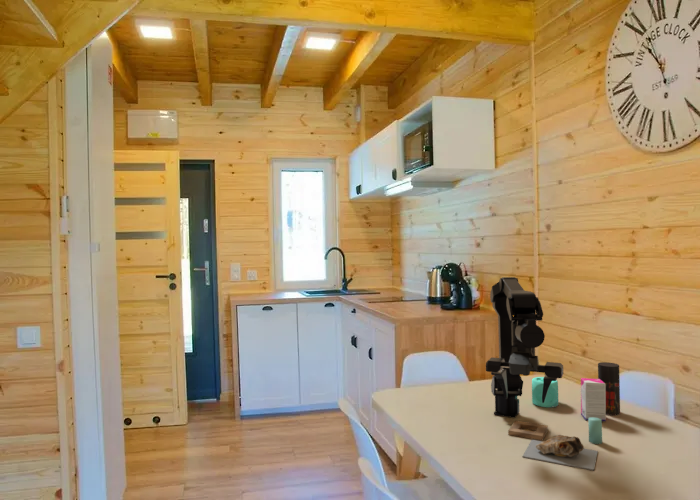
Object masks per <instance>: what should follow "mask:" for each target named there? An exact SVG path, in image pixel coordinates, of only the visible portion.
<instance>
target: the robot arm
mask: <svg viewBox="0 0 700 500" xmlns="http://www.w3.org/2000/svg"><path fill="white" fill-rule="evenodd" d="M489 295H490V297H489V298H490V299H489V300H490V302H491V303H492V308H493V311H495V313H496V316H497V323H498V324H497V325H498V327H497V328H498V357H493V356H492V357H490V358H489V359H488V360H487V361H486V362H485V372H486V373H487V372H489V373H490V375H491V376H492V379H491V384H490V389H491V394H492V396H494V412H493V415H494V416H501V417H508V418H516V417H517V416H518V414H520V399H519V398H518V397H522V395H523V386H524V380H522V376H525V377H527V376H529V375H530V374H531V373H543V374H544V376H543V377H544V383H543V393H542V403H544V401H545V398H546V395H547V392H548V389H549V386H550V384H551V382H552V381H556V380H557V379H562V378H563V376H564V365H563V364H562V363H561V362H553V361H551V362H550V361H546V363H545V364H540V363H539V362H540V361H539V356H538V355H536V348H538V347H540V346H542V344H543V343H544V341H545V337H546V335H545V332H544V330H543V328H541V327H540V326H539V325H537V321H543V317H544V311H543V308H542V304H541V301H540V300H539V297H538V296H537V294H536V293H534V291H530V290H525V289H524V288H523V286H522V285H521V284H520V282H519V279H518V277H513V276H509V277H507V276H505V277H504V276H503V277H499V280H498V282H497V283H495V284H493V285H492V286H491V289H490V294H489ZM520 375H522V376H520ZM557 381H558V380H557Z"/></svg>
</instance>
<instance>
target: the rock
mask: <svg viewBox="0 0 700 500" xmlns="http://www.w3.org/2000/svg"><path fill="white" fill-rule="evenodd" d="M542 441H543V442H541V443H540V444H538V445H536V448H537V449H538V450H540V451H541V452H542V453H543V454H549V453H554V454H563V455H567V456H569V457H572V456H574V455H578V454H579V453H580V451H582V450H583V448H584V449H585V447H584V445H583V443H582V441H581V439H580V437H577V436H568V435H562V434H559V435H555V436H552V437H550V438H548V439H547V440H542Z"/></svg>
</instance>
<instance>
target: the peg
mask: <svg viewBox="0 0 700 500" xmlns="http://www.w3.org/2000/svg"><path fill="white" fill-rule="evenodd" d="M602 422H603V421H602V420H601V419H599V418H595V417H591V418H588V422H587V423H588V442H589V443H590V444H593V445H602V444H603V429H602V428H603V426H602V425H603V424H602Z"/></svg>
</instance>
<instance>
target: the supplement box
mask: <svg viewBox="0 0 700 500" xmlns="http://www.w3.org/2000/svg"><path fill="white" fill-rule="evenodd" d="M605 385H606V384H605V383H604V382H603V381H602V380H600V379H598V378H586V377H581V378H580V415H581V416H582V417H583V419H584V420H585V421H588V418H591V417H595V418H599V419H601V420H602V422H606V421H607V420H606V419H607V417H606V386H605Z"/></svg>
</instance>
